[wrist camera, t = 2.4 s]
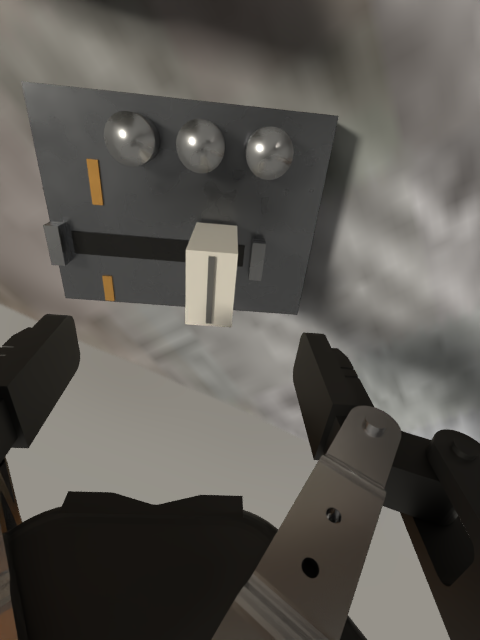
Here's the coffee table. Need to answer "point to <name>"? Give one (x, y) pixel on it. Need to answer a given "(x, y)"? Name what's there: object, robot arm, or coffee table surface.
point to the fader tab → (211, 274)
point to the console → (176, 191)
